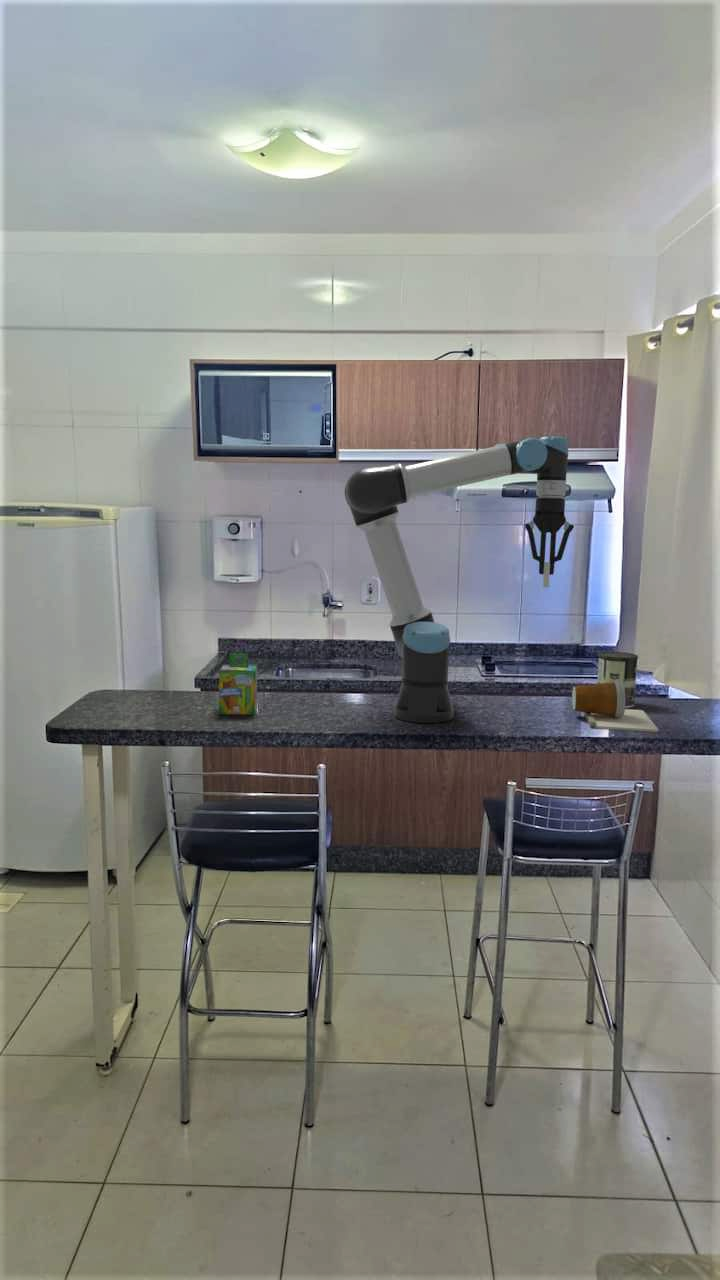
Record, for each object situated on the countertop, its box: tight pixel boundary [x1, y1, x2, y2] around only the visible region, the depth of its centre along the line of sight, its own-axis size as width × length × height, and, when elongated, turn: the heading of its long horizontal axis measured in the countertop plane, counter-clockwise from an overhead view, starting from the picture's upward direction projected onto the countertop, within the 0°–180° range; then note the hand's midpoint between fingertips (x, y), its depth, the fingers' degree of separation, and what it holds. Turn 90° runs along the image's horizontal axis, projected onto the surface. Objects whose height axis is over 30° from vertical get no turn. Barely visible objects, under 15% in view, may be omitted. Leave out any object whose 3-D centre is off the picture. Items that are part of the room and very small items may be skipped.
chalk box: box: [218, 653, 258, 716], centre depth 203 cm, size 9×9×15 cm
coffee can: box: [596, 651, 639, 709], centre depth 220 cm, size 10×10×14 cm
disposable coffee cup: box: [571, 681, 626, 718], centre depth 204 cm, size 10×10×12 cm
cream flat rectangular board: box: [582, 708, 660, 733], centre depth 204 cm, size 16×20×2 cm
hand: (545, 586), depth 213 cm, fingers closed
